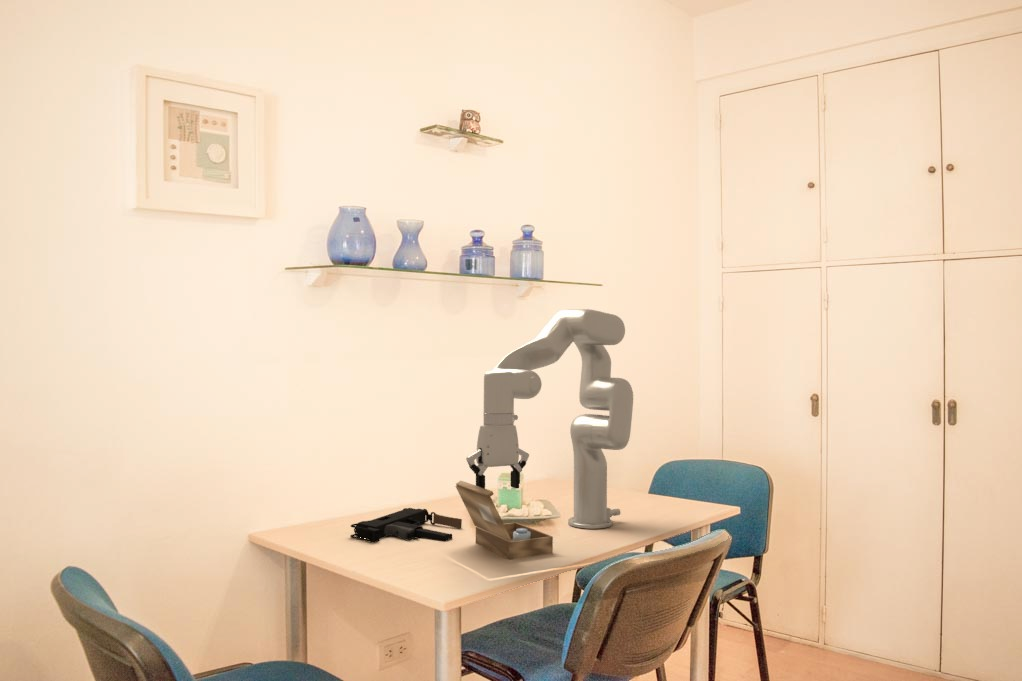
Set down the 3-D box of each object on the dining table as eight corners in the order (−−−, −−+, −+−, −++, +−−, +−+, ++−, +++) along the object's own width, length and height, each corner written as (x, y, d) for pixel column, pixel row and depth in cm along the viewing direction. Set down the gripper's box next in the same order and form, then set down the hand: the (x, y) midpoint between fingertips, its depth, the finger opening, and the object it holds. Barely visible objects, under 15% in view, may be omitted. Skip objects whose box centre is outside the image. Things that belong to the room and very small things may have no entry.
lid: (459, 480, 200) (454, 483, 199) (493, 491, 184) (487, 495, 184) (480, 521, 203) (474, 525, 202) (515, 536, 187) (509, 541, 186)
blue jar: (524, 543, 202) (524, 526, 202) (533, 547, 198) (533, 530, 198) (509, 545, 199) (510, 528, 200) (518, 549, 196) (518, 532, 196)
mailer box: (516, 539, 208) (516, 522, 208) (552, 555, 193) (552, 536, 193) (475, 544, 202) (475, 527, 202) (510, 561, 187) (510, 542, 187)
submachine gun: (485, 516, 221) (413, 502, 233) (424, 540, 196) (347, 523, 208) (485, 532, 221) (413, 517, 234) (424, 558, 196) (347, 540, 208)
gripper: (520, 417, 203) (520, 484, 203) (460, 420, 194) (460, 489, 194) (536, 420, 196) (535, 488, 196) (474, 422, 188) (473, 494, 188)
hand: (498, 489), depth 195 cm, fingers open, 9 cm apart
